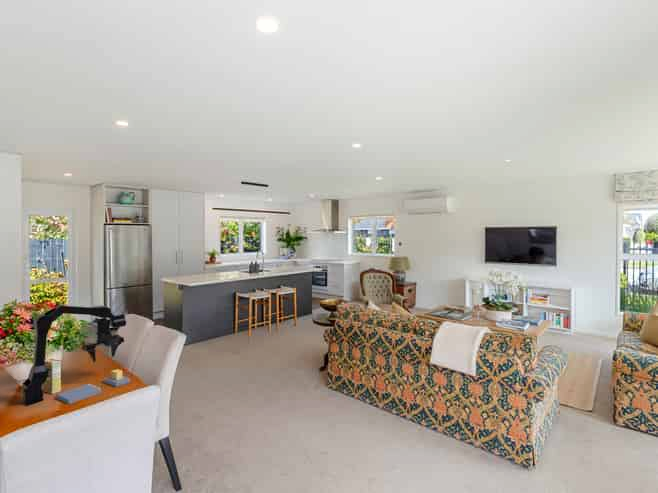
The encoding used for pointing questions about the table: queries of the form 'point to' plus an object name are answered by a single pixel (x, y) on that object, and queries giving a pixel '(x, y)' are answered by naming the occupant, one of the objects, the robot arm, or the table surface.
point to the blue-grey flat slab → (78, 393)
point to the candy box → (53, 376)
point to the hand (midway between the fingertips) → (103, 359)
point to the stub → (116, 378)
